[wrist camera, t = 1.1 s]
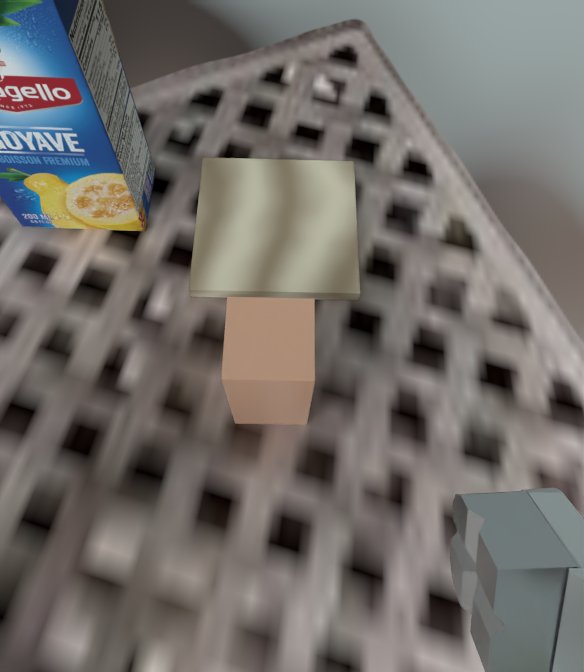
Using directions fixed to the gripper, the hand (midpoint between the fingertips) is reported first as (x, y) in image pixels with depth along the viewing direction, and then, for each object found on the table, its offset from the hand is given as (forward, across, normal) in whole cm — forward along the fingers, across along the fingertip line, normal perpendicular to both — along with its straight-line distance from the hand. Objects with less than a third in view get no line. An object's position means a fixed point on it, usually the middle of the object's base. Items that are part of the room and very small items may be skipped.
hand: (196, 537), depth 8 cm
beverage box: (+42, +17, -2) cm, 45 cm away
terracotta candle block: (+30, +1, +12) cm, 32 cm away
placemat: (+40, 0, +1) cm, 40 cm away
